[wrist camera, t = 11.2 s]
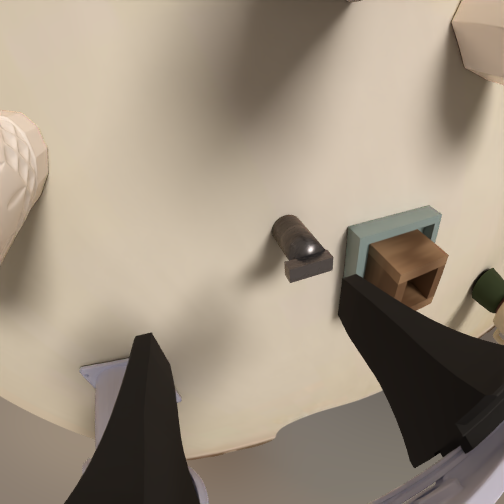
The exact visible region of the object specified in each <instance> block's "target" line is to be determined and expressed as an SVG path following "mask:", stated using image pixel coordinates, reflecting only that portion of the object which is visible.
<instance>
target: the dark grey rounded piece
mask: <svg viewBox="0 0 504 504" xmlns="http://www.w3.org/2000/svg"><path fill="white" fill-rule="evenodd" d="M272 234H273V237H274V238H275V240H276V241H277V243H278V244H279V246H280V247H281V249H282V250H283V252H284V254H285V255H286V257H287V258H288V260H289V261H285V262H284V264H285V275H286V277H287V279H288V280H289V282H290V283H292V282H295V281H299V280H302V279H305V278H308V277H312V276H315V275H318V274H322V273H325V272H328V271H331V270H332V269H333V256H332V255H331V254H330V253H329V251H328V250H325V249H324V248H323V247H322V245H321V244H320V243H319V242H318V241H317V240H316V238H315V237H314V236H313V235H312V234H311V233H310V231H309V230H308V229H307V228H306V227H305V226H304V224H303V223H302V222H301V221H300V220H299V219H298V218H297V217H296V216H294V215H285V216H282V217H281V218H279V219H278V220H277V221H276V222H275V224H274V225H273V228H272Z"/></svg>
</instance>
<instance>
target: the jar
mask: <svg viewBox="0 0 504 504" xmlns="http://www.w3.org/2000/svg"><path fill="white" fill-rule="evenodd" d="M452 26H453V29H454V32H455V35H456V38H457V42H458V45H459V49H460V52H461V56H462V60H463V64H464V67H465V68H466V69H468V70H470V71H472V72H474V73H475V74H477V75H479V76H481V77H483V78H484V79H486V80H488V81H492V82H495V83H499V84H502V85H504V0H462V1H461V3H460V5H459V7H458V9H457V11H456V14H455V16H454V18H453V20H452Z"/></svg>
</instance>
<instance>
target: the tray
mask: <svg viewBox="0 0 504 504" xmlns="http://www.w3.org/2000/svg"><path fill="white" fill-rule="evenodd" d="M441 216H442V214H441V213H440V212H438V211H437V210H435V209H434V208H432V207H431V206H430V205H429V206H425V207H421V208H417V209H413V210H410V211H406V212H402V213H398V214H394V215H391V216H387V217H383V218H379V219H375V220H371V221H368V222H364V223H360V224H356V225H352V226H349V227H348V235H347V247H346V257H345V267H344V276H343V278H345V277H348V276H351V275H354V274H357V275H359V276H361V277H362V278H364V275H365V270H366V264H367V258H368V251H369V245H370V244H371V243H374V242H378V241H381V240H384V239H387V238H391V237H394V236H397V235H400V234H403V233H407V232H410V231H413V230H416V229H418V230H419V231H421V232H422V233H423V234H424V235H425V236H427V237H428V238H429V239H430V240H431V241H433V242H434V243H435V241H436V237H437V233H438V229H439V225H440V221H441Z"/></svg>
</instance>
